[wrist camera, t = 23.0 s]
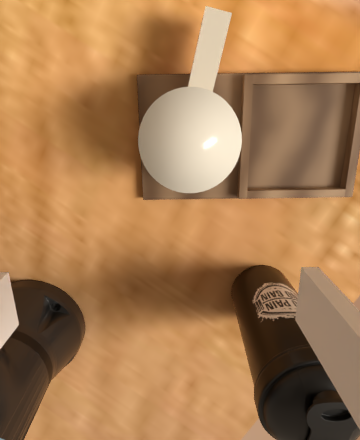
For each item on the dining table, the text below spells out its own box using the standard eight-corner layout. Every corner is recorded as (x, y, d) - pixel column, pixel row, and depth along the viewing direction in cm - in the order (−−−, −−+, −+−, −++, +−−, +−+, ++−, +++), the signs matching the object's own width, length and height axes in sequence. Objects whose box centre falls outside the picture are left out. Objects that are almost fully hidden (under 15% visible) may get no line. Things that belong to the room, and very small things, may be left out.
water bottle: (298, 259, 45) (410, 392, 24) (289, 320, 49) (382, 486, 27) (227, 259, 45) (275, 391, 23) (223, 320, 48) (262, 486, 27)
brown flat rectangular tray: (144, 197, 42) (142, 202, 40) (137, 75, 38) (135, 73, 35) (344, 194, 43) (354, 199, 40) (363, 72, 38) (375, 70, 36)
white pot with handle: (215, 184, 41) (226, 202, 32) (139, 167, 40) (129, 181, 32) (255, 36, 36) (280, 10, 27) (169, 12, 35) (166, -22, 26)
